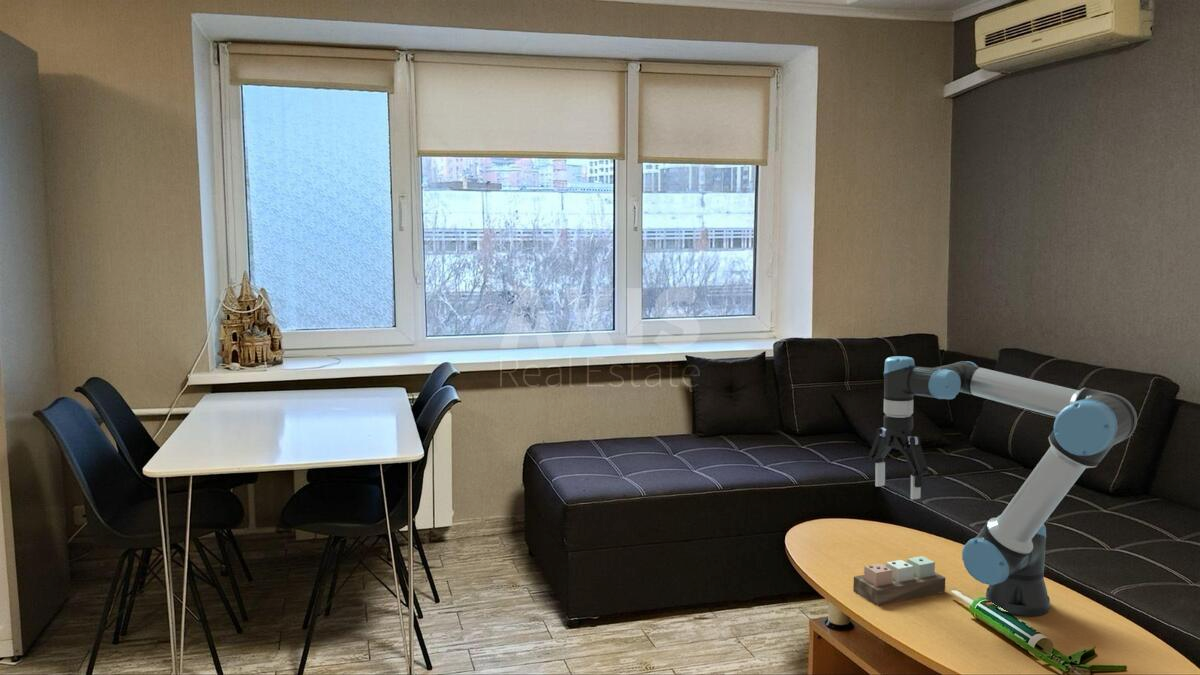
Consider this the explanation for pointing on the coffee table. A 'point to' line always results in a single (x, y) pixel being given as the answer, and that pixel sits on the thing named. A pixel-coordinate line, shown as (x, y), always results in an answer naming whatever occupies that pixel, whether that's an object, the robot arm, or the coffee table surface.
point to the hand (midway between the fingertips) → (897, 492)
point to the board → (899, 589)
